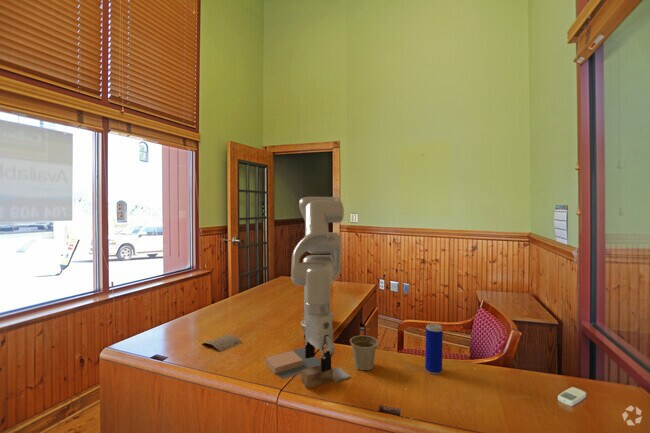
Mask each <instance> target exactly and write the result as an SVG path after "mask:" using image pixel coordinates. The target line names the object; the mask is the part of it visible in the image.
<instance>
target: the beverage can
mask: <svg viewBox="0 0 650 433" xmlns="http://www.w3.org/2000/svg"><path fill="white" fill-rule="evenodd" d="M443 331H444V330H443V326H442V325H441V324H439V323H436V322H435V323H434V322H431V323H427V324H426V327H425V362H424V367H425V370H426V371H427V372H428V373H430V374H432V375H439V374H441V373H442V371H443V336H444V335H443V334H444V332H443Z"/></svg>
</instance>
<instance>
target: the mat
mask: <svg viewBox="0 0 650 433" xmlns="http://www.w3.org/2000/svg"><path fill="white" fill-rule="evenodd" d="M289 351H290V350H288V351H287V352H289ZM291 351H293V352H295V353H296V354H297V355H298V356H299V357H300V358H301V359H302V360H303V366H301V367H298V368H294V369H291V370H287V371H284V372H280V373H277V375H279V377H280V378H281V379H282V380H284V379H288V378H290V377H291V378H292V377H294V376H298V375H302V370H305V369H308V368H312V367H315V366H318V365H321V359H319V357H317V356H316V355H315V356H314V357H311V358H307V359H306V358H305V347H299V348H295V349H293V350H291ZM285 352H286V351H284V352H283V353H285ZM281 353H282V352H280V353H279V354H281ZM277 354H278V353H277ZM277 354H272V355H268V356H266V357H270V356H274V355H277ZM266 357H264V359H265V360H266Z"/></svg>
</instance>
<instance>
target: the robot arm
mask: <svg viewBox="0 0 650 433" xmlns="http://www.w3.org/2000/svg"><path fill="white" fill-rule="evenodd" d="M298 204H299V205H298V207H299V211H300V214H301V216H302V218H303V220H304V236H303V238H302V239H300V240H299V242H298V243H297V244H296V245H295V247H294V249H293V252H292V255H291V266H290V267H291V268H290V278H291V281H292V284H294V285H296V286H298V287H299V286H300V287H301V286H302V287H303V286H304V287H303V298H304V299H303V319H302V320H301V321H300V326H301V327H303V328H302V330H303V338H304V346H305V358H306V359H307V358H311V357H314V356H316V349H317V350H320V351H319V352H320V354H321V358H320V360H321V371H322V372H325V371H328V370H331V367H332V358H333V355H334V353H335V352H334V351H335V349H336V346H335V344H334V328H333V327H334V326H333V320H332V319H333V318H335V313H334V312H331V285H332V283H333V281H335V277H337V276H339V275H340V273H341V272H342V269H341V268H342V238H341V235H340V234H339V233H338V232H334V231H333V232H331V231H329V224H330V223H334V224H335V223H337V224H338V223H341V222H342V221H343V220H344V217H345V209H344V205H343V202H342V200H341V199H340V198H339V197H337V196H336V197H335V196H306V197H302V198H300V199H299V203H298ZM306 252H308V253H310V255H306V256H305V257H304V258H303V260H302V262H300V260H301V257H302V256H303V255H304V254H306ZM322 254H323V255H322ZM325 350H326V351H325Z"/></svg>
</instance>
